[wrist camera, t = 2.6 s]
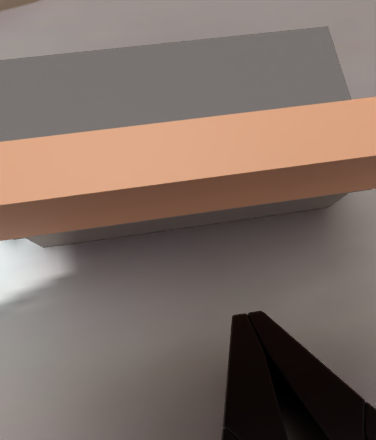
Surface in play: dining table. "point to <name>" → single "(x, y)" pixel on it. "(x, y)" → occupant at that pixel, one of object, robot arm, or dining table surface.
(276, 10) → the dining table surface
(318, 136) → the lid
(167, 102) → the cable box
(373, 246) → the dining table surface
